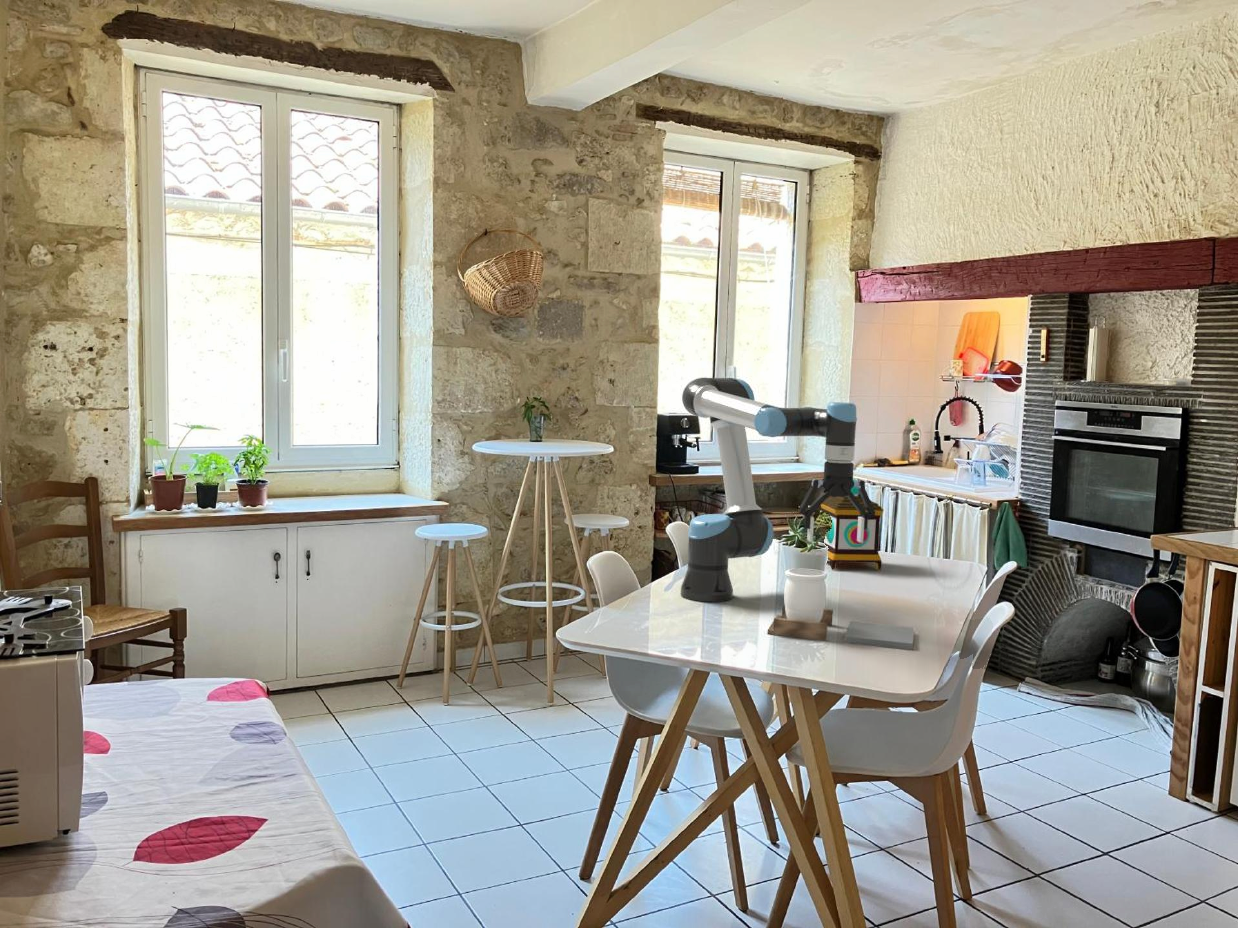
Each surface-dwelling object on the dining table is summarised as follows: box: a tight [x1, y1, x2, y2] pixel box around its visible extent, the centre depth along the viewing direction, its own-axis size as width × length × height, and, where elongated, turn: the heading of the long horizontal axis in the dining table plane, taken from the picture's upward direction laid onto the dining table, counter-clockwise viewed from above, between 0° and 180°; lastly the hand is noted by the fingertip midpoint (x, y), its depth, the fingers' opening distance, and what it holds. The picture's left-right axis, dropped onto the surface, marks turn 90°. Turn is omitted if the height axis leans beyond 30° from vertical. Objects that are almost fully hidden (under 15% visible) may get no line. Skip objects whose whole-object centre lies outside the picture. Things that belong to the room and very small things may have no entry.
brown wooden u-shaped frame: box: [766, 604, 834, 641], centre depth 253 cm, size 14×16×4 cm
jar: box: [783, 567, 828, 622], centre depth 252 cm, size 11×10×15 cm
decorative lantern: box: [820, 478, 884, 571], centre depth 337 cm, size 20×20×30 cm
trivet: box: [844, 620, 915, 650], centre depth 247 cm, size 16×16×2 cm
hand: (834, 541), depth 260 cm, fingers open, 13 cm apart
